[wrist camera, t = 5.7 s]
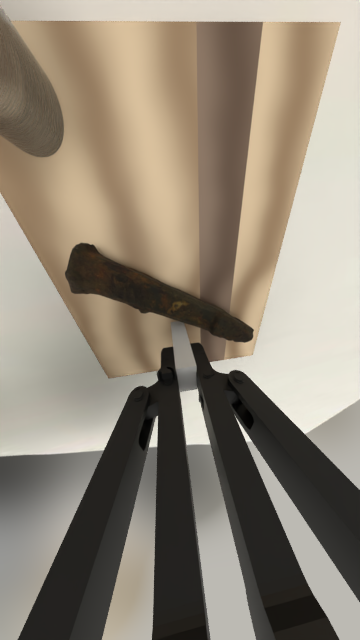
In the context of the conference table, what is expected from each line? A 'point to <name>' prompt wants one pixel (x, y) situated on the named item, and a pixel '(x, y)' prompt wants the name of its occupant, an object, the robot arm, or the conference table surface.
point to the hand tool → (148, 294)
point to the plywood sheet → (169, 166)
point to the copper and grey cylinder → (26, 97)
